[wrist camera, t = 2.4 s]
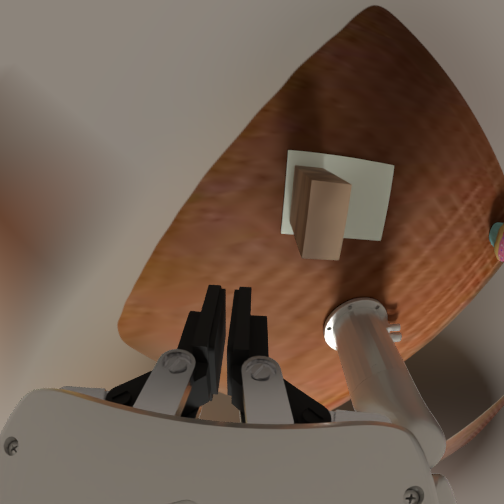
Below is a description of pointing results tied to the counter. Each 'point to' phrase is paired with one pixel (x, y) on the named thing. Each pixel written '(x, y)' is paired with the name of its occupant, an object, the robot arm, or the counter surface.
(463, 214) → the counter surface
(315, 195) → the slab
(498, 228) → the cupcake
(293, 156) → the mat
